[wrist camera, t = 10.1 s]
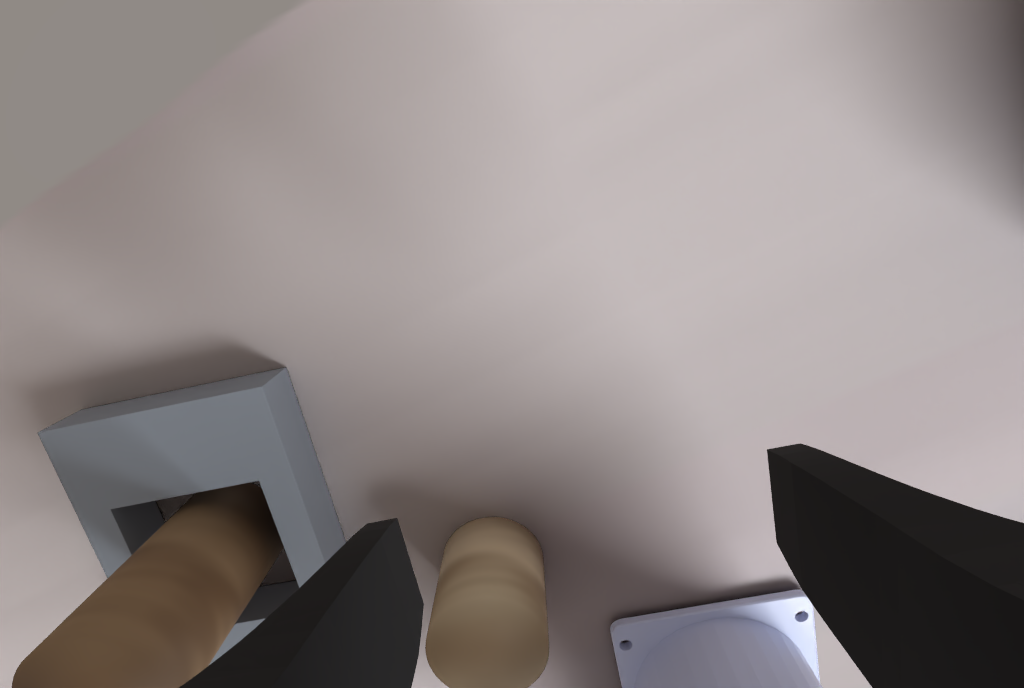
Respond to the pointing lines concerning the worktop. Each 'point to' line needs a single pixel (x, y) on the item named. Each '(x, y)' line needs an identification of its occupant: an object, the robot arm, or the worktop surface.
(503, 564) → the short dowel
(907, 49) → the worktop surface
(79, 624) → the long dowel
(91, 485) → the board
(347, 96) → the worktop surface
